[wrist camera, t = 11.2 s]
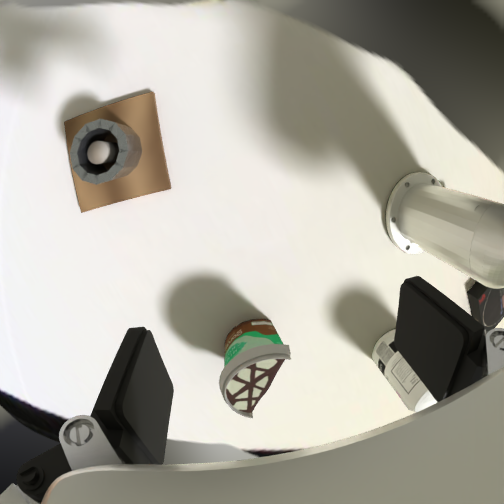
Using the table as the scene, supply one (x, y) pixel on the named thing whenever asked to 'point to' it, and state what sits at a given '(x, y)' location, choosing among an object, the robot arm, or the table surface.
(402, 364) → the supplement can
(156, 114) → the wooden peg base
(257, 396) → the food container
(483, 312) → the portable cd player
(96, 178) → the sleeve
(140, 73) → the table surface
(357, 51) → the table surface
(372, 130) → the table surface
